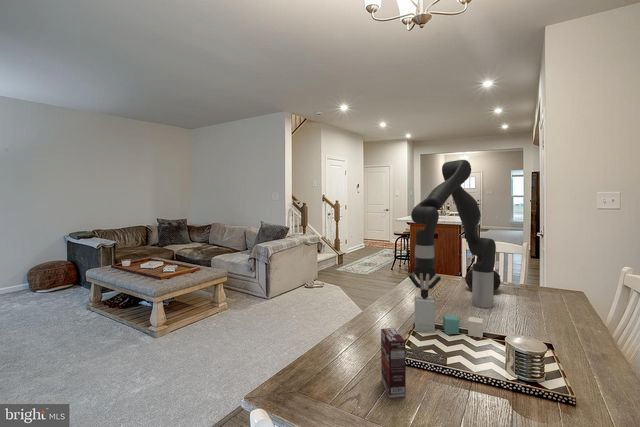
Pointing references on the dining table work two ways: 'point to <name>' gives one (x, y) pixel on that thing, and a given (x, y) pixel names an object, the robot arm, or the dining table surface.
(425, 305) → the supplement box
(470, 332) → the cream block
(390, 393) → the supplement box
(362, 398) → the dining table surface
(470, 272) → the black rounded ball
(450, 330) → the teal block
